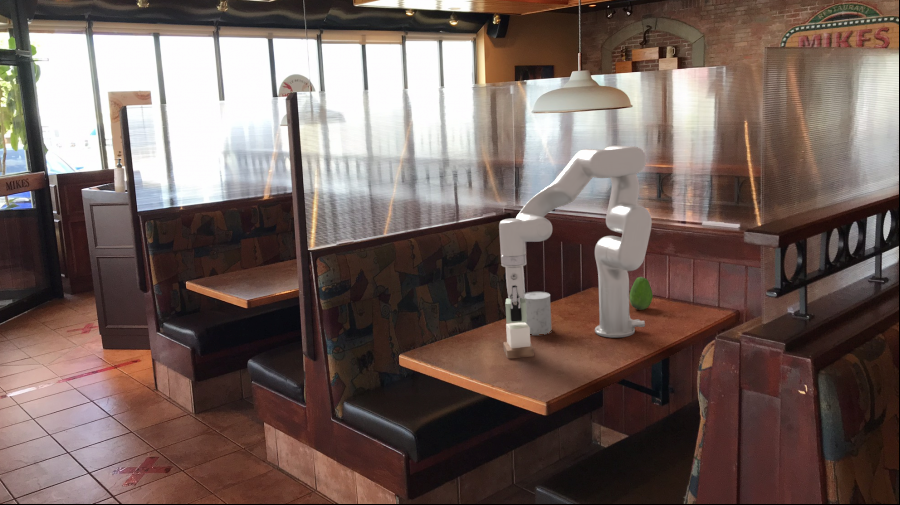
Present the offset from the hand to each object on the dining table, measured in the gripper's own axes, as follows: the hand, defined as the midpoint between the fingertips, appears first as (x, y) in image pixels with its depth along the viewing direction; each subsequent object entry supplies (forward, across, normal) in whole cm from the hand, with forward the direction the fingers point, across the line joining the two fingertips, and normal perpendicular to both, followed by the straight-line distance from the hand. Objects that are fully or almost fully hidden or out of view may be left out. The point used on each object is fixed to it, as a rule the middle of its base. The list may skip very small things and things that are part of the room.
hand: (516, 317), depth 221 cm
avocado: (+12, +42, -43) cm, 61 cm away
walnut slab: (+12, 0, 0) cm, 12 cm away
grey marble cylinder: (+12, +21, -6) cm, 25 cm away
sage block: (+1, 0, 0) cm, 1 cm away
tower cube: (+9, 0, 0) cm, 9 cm away
